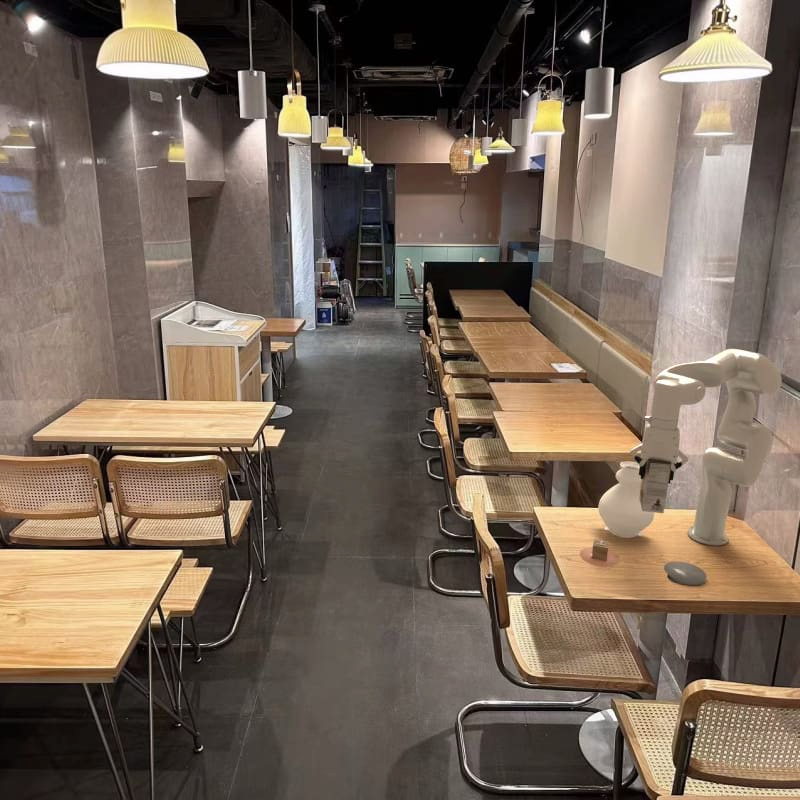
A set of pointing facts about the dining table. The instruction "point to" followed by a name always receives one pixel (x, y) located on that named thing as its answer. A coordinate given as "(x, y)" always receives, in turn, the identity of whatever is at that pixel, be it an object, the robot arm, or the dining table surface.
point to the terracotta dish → (587, 556)
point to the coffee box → (654, 485)
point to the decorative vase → (625, 504)
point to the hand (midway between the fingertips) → (655, 479)
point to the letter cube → (600, 549)
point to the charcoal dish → (685, 573)
